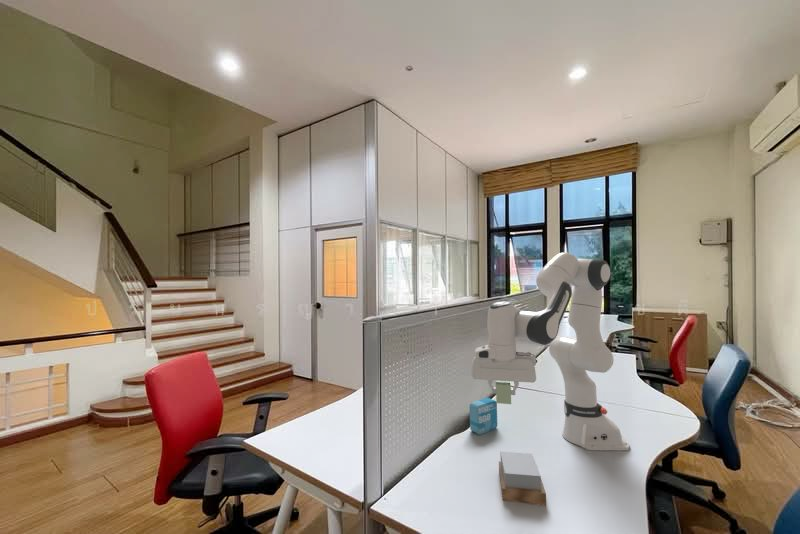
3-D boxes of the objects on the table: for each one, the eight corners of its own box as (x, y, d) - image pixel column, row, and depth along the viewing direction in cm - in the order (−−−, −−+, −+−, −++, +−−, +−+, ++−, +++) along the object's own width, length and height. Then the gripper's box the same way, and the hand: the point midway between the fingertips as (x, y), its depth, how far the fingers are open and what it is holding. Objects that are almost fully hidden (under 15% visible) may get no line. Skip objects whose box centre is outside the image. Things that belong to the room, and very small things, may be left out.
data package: (477, 435, 133) (476, 406, 134) (469, 431, 137) (469, 402, 137) (497, 427, 140) (496, 399, 140) (489, 424, 143) (488, 396, 144)
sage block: (510, 398, 108) (509, 380, 108) (511, 404, 103) (510, 385, 104) (496, 397, 109) (495, 380, 109) (496, 403, 105) (496, 384, 105)
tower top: (532, 466, 106) (532, 453, 106) (541, 490, 94) (540, 476, 94) (500, 463, 108) (500, 451, 108) (505, 486, 96) (504, 473, 96)
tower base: (537, 477, 106) (536, 465, 106) (546, 507, 92) (545, 493, 93) (499, 473, 109) (498, 461, 109) (502, 502, 95) (502, 488, 95)
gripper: (534, 350, 107) (535, 392, 107) (471, 348, 112) (472, 388, 112) (537, 355, 101) (539, 399, 101) (470, 352, 106) (471, 395, 106)
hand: (503, 393), depth 106 cm, fingers closed on sage block, 4 cm apart
